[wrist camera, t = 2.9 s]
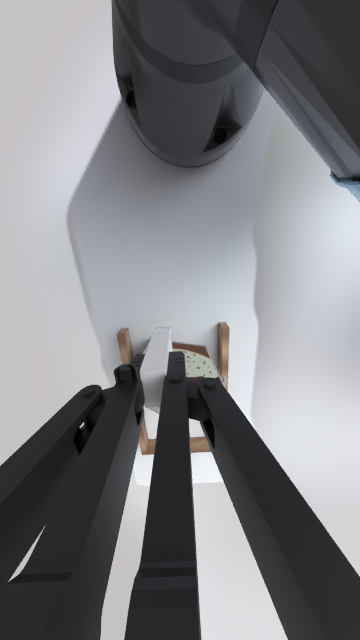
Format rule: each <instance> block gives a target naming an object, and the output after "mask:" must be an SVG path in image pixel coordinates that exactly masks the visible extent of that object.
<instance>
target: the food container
mask: <svg viewBox="0 0 360 640" xmlns="http://www.w3.org/2000/svg"><path fill="white" fill-rule="evenodd" d="M149 342H150V341H149ZM148 345H149V343H148V344H147V346H146V348H145V349H144V351H143V353H142V354H146V351H147V348H148ZM172 350H173V352H175V351H182V352H183V353H184V354H185V368H186V377H187V378H188V379H189V380H191V381H193V382H197V383H199V381H200V380H201V379H203V378H207V377H211V378H215V379H218V380H219V381H220V382H221V383H222V384H223V386H224V387H225V385H226V378H225V376H224V378H223V380H222V378H221V376H220V374H219V372H218V370H217V368H216V366H215V364H214V362H213V360H212V357H211V355H210V353H209V351H208V349H207V347H206V345H199V344H191V343H184V342H176V341H172ZM144 406H145V402H144ZM148 408H149V409H150V410H152V411H154V412H156V413H158V414H159V413H160V407H148Z"/></svg>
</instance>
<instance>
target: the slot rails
mask: <svg viewBox="0 0 360 640" xmlns="http://www.w3.org/2000/svg"><path fill="white" fill-rule="evenodd" d="M117 337H118V342H119V347H120V351H121V356H122V361H123V365H124V364H130V363H131V361H132V358H133V353H132V348H131V342H130V337H129V331H128V328H126V329H121V331H120V332H119V333H118V334H117ZM228 357H229V327H228V325H227V324H226V322H222V323H219V374H220V376H221V378H222V380H223V378H224V376H225V378H226V385H225V389H226V390H227V389H228ZM139 442H140V447H141V452H142V455H150V454H154V452H155V445H156V439H153V440H148V435H147V430H146V424H145V419H144V418H143V422H142V427H141V432H140V436H139ZM190 452H191V453H194V452H212V451H211V449H210V446H209V444H208V442H207V439H206V437H195V438H190Z"/></svg>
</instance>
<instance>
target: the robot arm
mask: <svg viewBox="0 0 360 640" xmlns="http://www.w3.org/2000/svg"><path fill="white" fill-rule="evenodd" d="M112 27H113V54H114V65H115V71H116V77H117V82H118V86H119V90H120V94H121V97H122V100H123V103H124V105H125V108H126V111H127V113H128V116H129V119H130V121H131V123H132V125H133V127H134V129H135V131H136V133H137V134H138V136H139V137H140V139H141V140H142V141H143V143H144V144H145V145H146V146H147V147H148V148H149V149H150V150H151V151H152V152H153V153H154V154H155V155H157V156H158V157H160V158H161V159H163V160H165V161H166V162H169V163H171V164H174V165H178V166H183V167H196V166H201V165H205V164H208V163H210V162H213V161H214V160H216V159H218V158H220V157H221V156H222V155H224V154H225V153H226V152H227V151H229V150H230V149H231V148H232V147H233V146H234V144H235V143H236V142H237V141H238V140H239V138H240V137H241V135H242V134H243V132H244V131H245V129H246V127H247V125H248V124H249V122H250V120H251V118H252V116H253V114H254V112H255V110H256V108H257V106H258V103H259V101H260V98H261V95H262V92H263V89H264V87H265V88H266V90H267V91H268V92H269V93H270V94H271V96H272V97H273V98H274V99H275V101H276V102H277V103H278V104H279V106H280V107H281V108H282V109H283V111H284V112H285V113H286V114H287V116H288V117H289V118H290V119H291V121H292V122H293V123H294V124H295V126H296V127H297V128H298V129H299V131H300V132H301V133H302V134H303V136H304V137H305V138H306V139H307V141H308V142H309V143H310V144H311V145H312V147H313V148H314V149H315V151H316V152H317V153H318V154H319V155H320V157H321V158H322V159H323V160H324V162H325V163H326V164H327V165H328V167H329V168H330V169H331V174H330V176H331V177H332V179H333V181H334V182H335V183H336V184H338V185H339V186H342V187H345V188H347V189H348V190H349V191H350V192H351V193H352V194H353V195H354V196H355V197H356V198H357V199H358V200H359V201H360V0H112ZM114 375H115V380H116V384H115V386H114V387H111V388H108V389H104V390H102V389H101V387H100V386H99V385H90V386H87V387H85V388H83V389H82V390H80V391H79V392H78V393H77V394H76V395H75V396H74V397H73V398H72V399H71V400H69V401H68V403H66V404H65V405H64V406H63V407H62V408H61V409H60V410H59V411H58V412H57V413H56V414H55V415H54V416H53V417H52V418H51V419H49V420H48V421H47V422H46V423H45V424H44V425H43V426H42V427H41V428H40V429H39V430H38V431H37V432H36V433H35V434H34V435H33V436H32V437H31V438H30V439H28V440H27V442H25V443H24V444H23V445H22V446H21V447H20V448H19V449H18V450H17V451H16V452H15V453H14V454H13V455H12V456H10V457H9V458H8V459H7V460H6V461H5V462H4V463H3V464H2V465H1V466H0V640H100V635H101V616H102V608H103V603H104V598H105V593H106V589H107V584H108V580H109V575H110V570H111V566H112V561H113V556H114V552H115V547H116V543H117V538H118V533H119V529H120V524H121V519H122V515H123V510H124V506H125V501H126V496H127V491H128V487H129V482H130V477H131V473H132V469H133V464H134V459H135V455H136V450H137V446H138V441H139V436H140V432H141V427H142V422H143V418H144V408H143V406H144V402H145V406H146V408H148V407H160V413H159V421H158V429H157V437H156V445H155V452H154V460H153V468H152V476H151V484H150V492H149V500H148V507H147V515H146V523H145V531H144V539H143V547H142V555H141V562H140V566H139V570H138V572H137V574H136V577H135V579H134V583H133V588H132V593H131V598H130V604H129V610H128V617H127V625H126V632H125V639H124V640H201V628H200V627H201V626H200V610H199V593H198V575H197V559H196V540H195V526H194V525H195V522H194V505H193V487H192V469H191V452H190V434H189V418H190V419H194V420H198V421H200V424H201V427H202V429H203V432H204V434H205V437H206V439H207V442H208V444H209V446H210V449H211V451H212V454H213V456H214V459H215V461H216V464H217V466H218V469H219V471H220V474H221V476H222V478H223V481H224V483H225V486H226V488H227V491H228V493H229V496H230V498H231V501H232V503H233V506H234V508H235V510H236V513H237V515H238V518H239V520H240V523H241V525H242V528H243V530H244V533H245V535H246V538H247V540H248V542H249V545H250V547H251V550H252V552H253V555H254V557H255V560H256V562H257V565H258V567H259V569H260V572H261V574H262V577H263V579H264V582H265V584H266V587H267V589H268V592H269V594H270V596H271V599H272V602H273V604H274V606H275V609H276V611H277V614H278V616H279V619H280V621H281V624H282V626H283V629H284V631H285V634H286V636H287V638H288V640H360V577H359V575H358V574H357V572H356V571H355V570H354V568H353V567H352V565H351V564H350V563H349V561H348V560H347V558H346V557H345V556H344V554H343V553H342V551H341V550H340V549H339V547H338V546H337V544H336V543H335V542H334V540H333V539H332V537H331V536H330V535H329V533H328V532H327V530H326V529H325V527H324V526H323V525H322V523H321V522H320V520H319V519H318V518H317V516H316V515H315V513H314V512H313V511H312V509H311V508H310V507H309V505H308V504H307V502H306V501H305V500H304V498H303V497H302V495H301V494H300V493H299V491H298V490H297V488H296V487H295V485H294V484H293V483H292V481H291V480H290V478H289V477H288V476H287V474H286V473H285V471H284V470H283V469H282V467H281V466H280V465H279V463H278V462H277V460H276V459H275V457H274V456H273V455H272V453H271V452H270V450H269V449H268V448H267V446H266V445H265V444H264V442H263V441H262V439H261V438H260V436H259V435H258V434H257V432H256V431H255V429H254V428H253V427H252V425H251V424H250V422H249V421H248V420H247V418H246V417H245V415H244V414H243V413H242V411H241V410H240V408H239V407H238V405H237V404H236V403H235V401H234V400H233V398H232V397H231V396H230V394H229V393H228V391H227V390H226V389H225V387H224V386H223V384H222V383H221V382H220V381H219V380H218V379H215V378H211V377H207V378H203V379H201V380H200V381H199V383H197V382H193V381H191V380H189V379H188V378H187V377H186V368H185V354H184V353H183V352H182V351H175V352H173V350H172V340H171V329H170V327H167V328H154V331H153V334H152V336H151V339H150V342H149V345H148V348H147V351H146V354H137V355H136V356H134V357H133V358H132V361H131V363H130V364H124V365H121V366H119V367H117V368H116V369H115V370H114ZM83 422H84V425H83V427H81V428H79V427H80V426H81V424H82V423H83ZM46 523H47V524H46ZM45 525H46V526H45ZM44 526H45V528H44ZM43 528H44V530H43ZM42 530H43V532H42V534H41V536H40V538H39V540H38V542H37V544H36V546H35V548H34V550H33V552H32V554H31V556H30V558H29V560H28V562H27V564H26V565H25V567H24V569H23V570H22V571H21V573H20V574H19V575H18V576H16V577H15V578H13V579H12V580H11V581H9V580H10V578H11V577H12V575H13V573H14V572H15V570H16V569H17V567H18V566H19V564H20V562H21V561H22V560H23V558H24V557H25V555H26V554H27V552H28V551H29V549H30V548H31V546H32V544H33V543H34V542H35V540H36V538H37V537H38V536H39V534H40V533H41V531H42ZM8 581H9V582H8Z"/></svg>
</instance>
